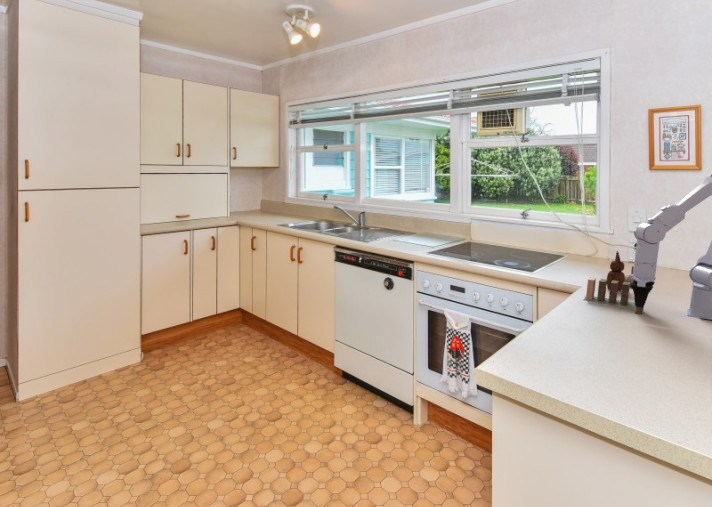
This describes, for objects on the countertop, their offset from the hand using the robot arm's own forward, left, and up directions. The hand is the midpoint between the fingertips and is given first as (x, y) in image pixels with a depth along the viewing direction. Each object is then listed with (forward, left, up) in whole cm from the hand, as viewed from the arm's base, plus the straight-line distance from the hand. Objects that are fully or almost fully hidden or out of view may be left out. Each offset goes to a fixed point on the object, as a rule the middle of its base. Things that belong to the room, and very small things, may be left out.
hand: (640, 305), depth 135 cm
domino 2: (+8, -8, -2) cm, 12 cm away
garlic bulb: (+6, -41, -3) cm, 42 cm away
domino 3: (+5, -8, -2) cm, 10 cm away
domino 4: (0, 0, -3) cm, 3 cm away
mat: (+8, -8, -3) cm, 12 cm away
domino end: (+15, -8, -2) cm, 17 cm away
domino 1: (+12, -8, -2) cm, 14 cm away
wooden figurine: (+10, -28, -3) cm, 30 cm away
